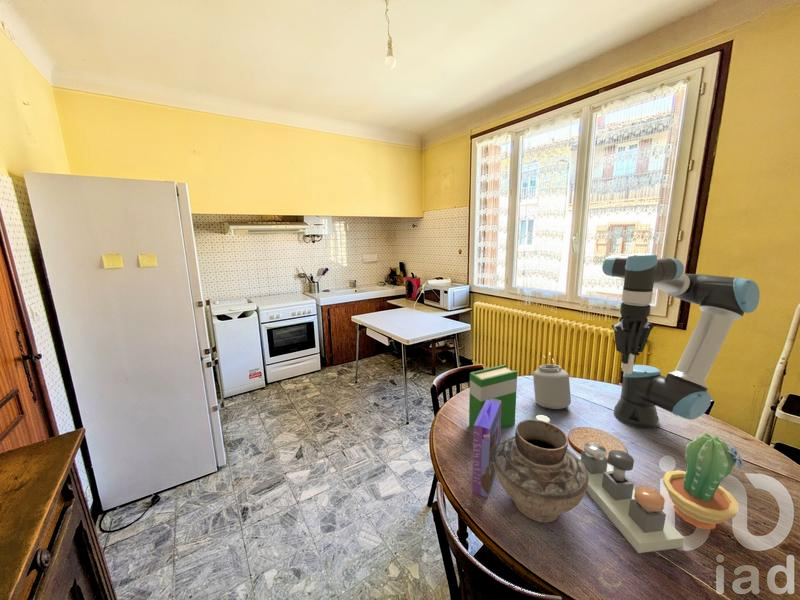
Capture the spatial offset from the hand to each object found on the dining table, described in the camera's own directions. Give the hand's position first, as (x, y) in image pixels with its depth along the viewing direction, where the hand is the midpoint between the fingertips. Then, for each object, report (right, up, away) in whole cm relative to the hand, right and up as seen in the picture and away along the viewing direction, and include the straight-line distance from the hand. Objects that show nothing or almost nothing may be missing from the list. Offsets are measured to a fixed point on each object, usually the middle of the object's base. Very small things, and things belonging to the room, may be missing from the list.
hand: (626, 372), depth 104 cm
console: (-11, -36, -11) cm, 39 cm away
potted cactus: (+7, -37, -16) cm, 41 cm away
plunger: (-12, -31, -2) cm, 33 cm away
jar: (-6, -25, +42) cm, 49 cm away
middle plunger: (-12, -28, -12) cm, 33 cm away
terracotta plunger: (-11, -33, -21) cm, 41 cm away
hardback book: (-37, -29, +27) cm, 54 cm away
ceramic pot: (-35, -37, -11) cm, 52 cm away
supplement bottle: (-23, -32, +12) cm, 41 cm away
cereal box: (-47, -35, 0) cm, 58 cm away
